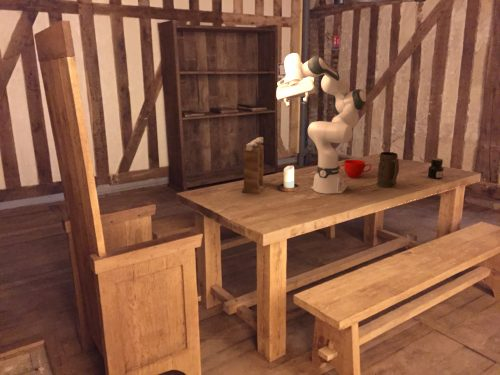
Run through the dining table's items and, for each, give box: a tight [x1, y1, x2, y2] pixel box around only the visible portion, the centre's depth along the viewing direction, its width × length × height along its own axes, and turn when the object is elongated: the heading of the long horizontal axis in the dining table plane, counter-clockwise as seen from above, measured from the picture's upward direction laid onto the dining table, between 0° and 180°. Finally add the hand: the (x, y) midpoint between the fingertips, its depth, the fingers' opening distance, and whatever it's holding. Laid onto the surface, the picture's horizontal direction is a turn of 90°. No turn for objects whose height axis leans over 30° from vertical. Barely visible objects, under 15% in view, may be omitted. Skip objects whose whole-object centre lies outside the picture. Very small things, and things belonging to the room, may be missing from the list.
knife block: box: [241, 142, 266, 195], centre depth 247 cm, size 13×10×27 cm
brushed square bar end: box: [245, 136, 264, 151], centre depth 246 cm, size 26×3×3 cm, turn 165°
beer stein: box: [376, 151, 400, 189], centre depth 258 cm, size 15×11×20 cm
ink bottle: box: [427, 157, 444, 180], centre depth 280 cm, size 10×9×12 cm
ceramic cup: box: [343, 159, 372, 179], centre depth 280 cm, size 13×17×10 cm
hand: (296, 104), depth 226 cm, fingers open, 8 cm apart
